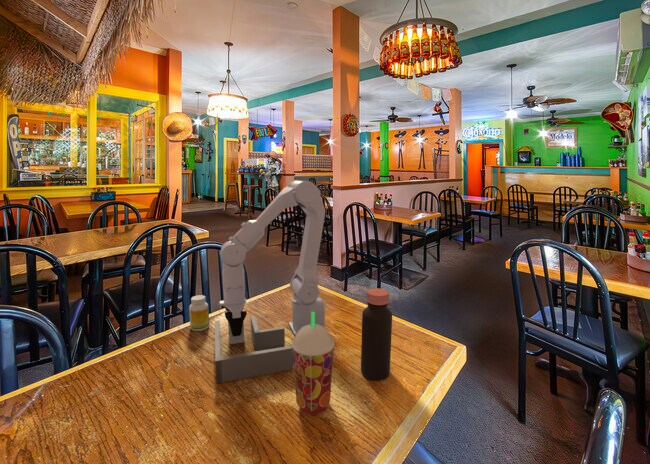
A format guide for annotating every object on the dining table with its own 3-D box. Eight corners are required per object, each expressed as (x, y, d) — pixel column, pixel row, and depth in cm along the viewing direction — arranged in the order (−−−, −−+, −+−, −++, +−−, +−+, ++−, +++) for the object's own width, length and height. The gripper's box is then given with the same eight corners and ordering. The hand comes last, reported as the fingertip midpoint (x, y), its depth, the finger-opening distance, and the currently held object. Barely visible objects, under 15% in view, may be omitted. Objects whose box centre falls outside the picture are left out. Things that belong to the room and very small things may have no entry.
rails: (277, 330, 98) (277, 312, 97) (293, 369, 78) (293, 348, 77) (215, 339, 92) (214, 321, 91) (216, 383, 73) (215, 361, 72)
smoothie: (292, 392, 70) (291, 304, 66) (331, 390, 71) (332, 303, 67) (292, 421, 62) (290, 323, 58) (336, 419, 63) (337, 321, 59)
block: (243, 335, 95) (242, 309, 93) (244, 342, 91) (243, 314, 89) (228, 337, 93) (227, 311, 92) (229, 344, 90) (228, 316, 88)
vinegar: (387, 384, 73) (390, 299, 69) (357, 377, 75) (359, 295, 72) (391, 367, 79) (395, 288, 76) (364, 362, 82) (366, 285, 78)
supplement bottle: (188, 326, 100) (185, 296, 98) (205, 321, 103) (203, 292, 101) (194, 333, 96) (191, 302, 94) (212, 328, 99) (210, 297, 97)
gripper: (218, 278, 95) (220, 322, 97) (218, 296, 81) (221, 346, 84) (243, 276, 97) (245, 319, 99) (248, 293, 83) (250, 342, 86)
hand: (236, 331), depth 92 cm, fingers open, 4 cm apart
